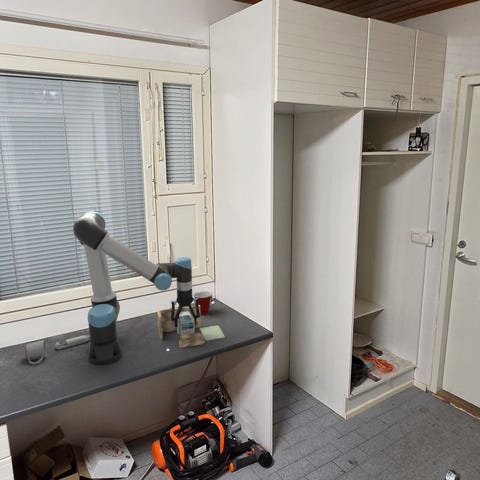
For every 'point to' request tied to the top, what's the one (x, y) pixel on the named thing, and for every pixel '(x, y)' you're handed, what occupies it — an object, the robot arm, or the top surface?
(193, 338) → the offcut stack
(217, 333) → the mat
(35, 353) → the ceramic mug
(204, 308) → the plastic cup
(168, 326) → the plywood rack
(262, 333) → the top surface
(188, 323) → the light bulb box
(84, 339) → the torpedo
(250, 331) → the top surface
